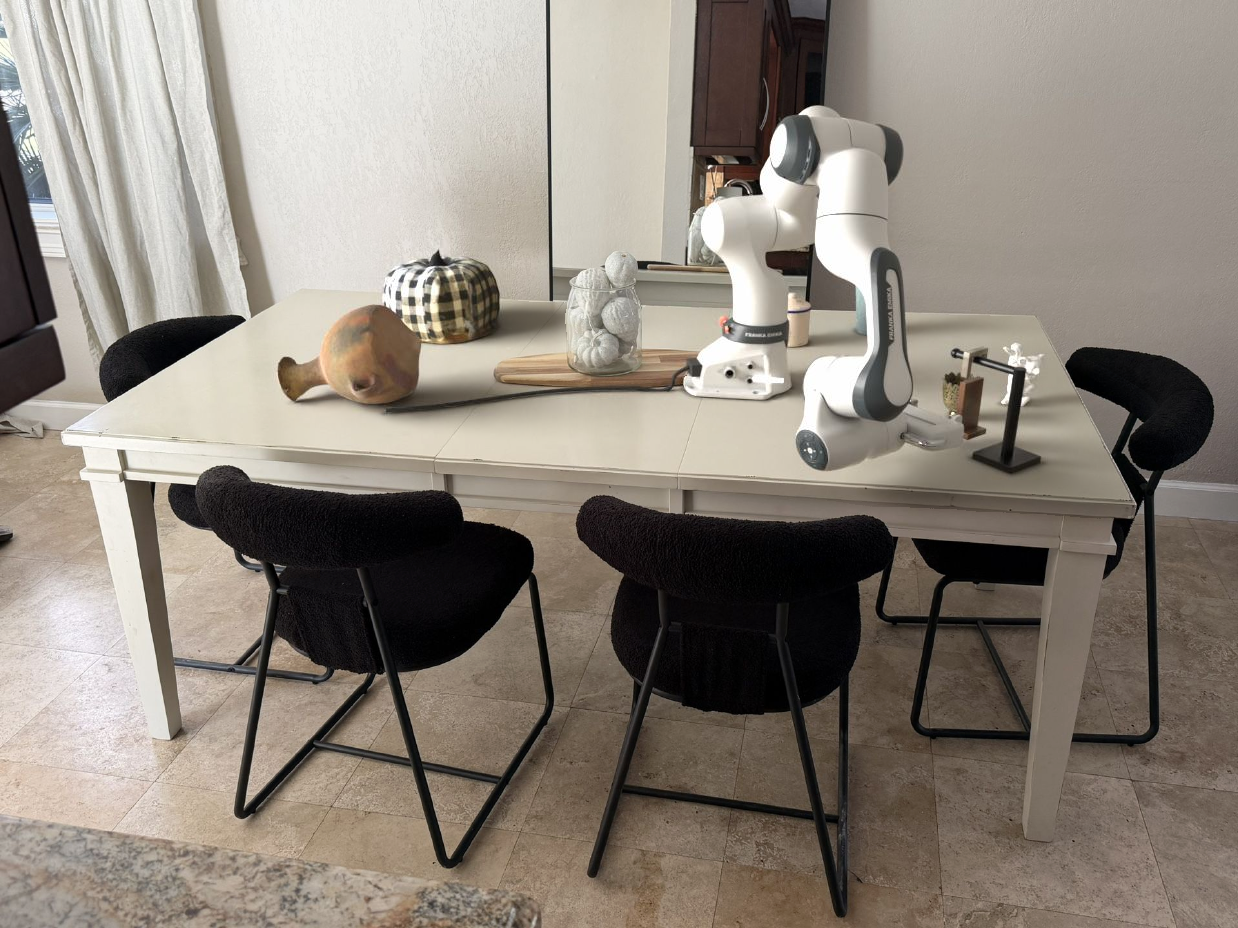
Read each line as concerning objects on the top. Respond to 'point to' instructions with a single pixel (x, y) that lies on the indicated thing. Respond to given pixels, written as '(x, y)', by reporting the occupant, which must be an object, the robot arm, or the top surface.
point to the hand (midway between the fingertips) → (936, 410)
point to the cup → (952, 390)
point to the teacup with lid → (798, 320)
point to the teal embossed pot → (861, 313)
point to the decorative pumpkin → (444, 298)
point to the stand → (1005, 452)
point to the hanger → (971, 395)
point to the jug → (359, 359)
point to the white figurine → (1033, 369)
